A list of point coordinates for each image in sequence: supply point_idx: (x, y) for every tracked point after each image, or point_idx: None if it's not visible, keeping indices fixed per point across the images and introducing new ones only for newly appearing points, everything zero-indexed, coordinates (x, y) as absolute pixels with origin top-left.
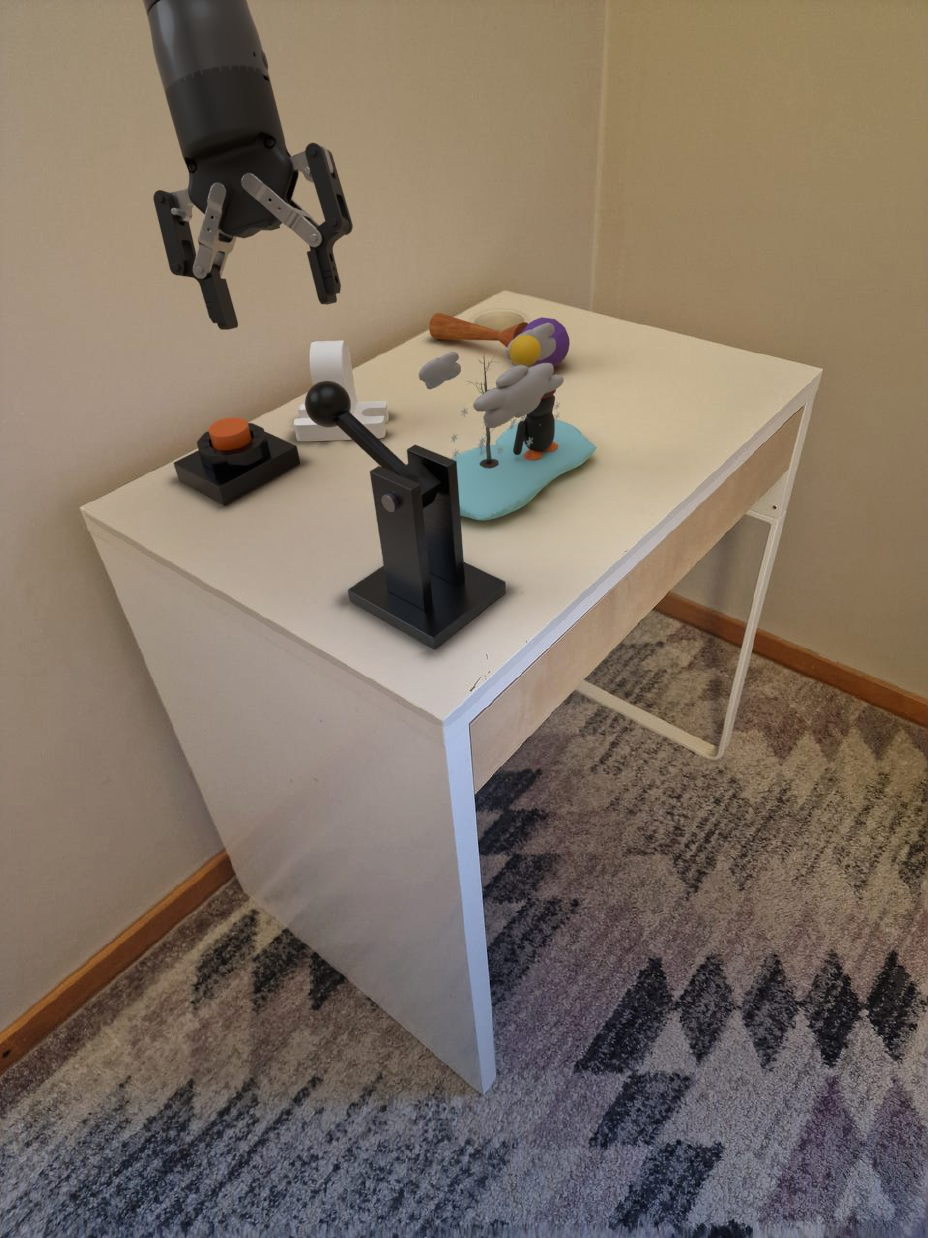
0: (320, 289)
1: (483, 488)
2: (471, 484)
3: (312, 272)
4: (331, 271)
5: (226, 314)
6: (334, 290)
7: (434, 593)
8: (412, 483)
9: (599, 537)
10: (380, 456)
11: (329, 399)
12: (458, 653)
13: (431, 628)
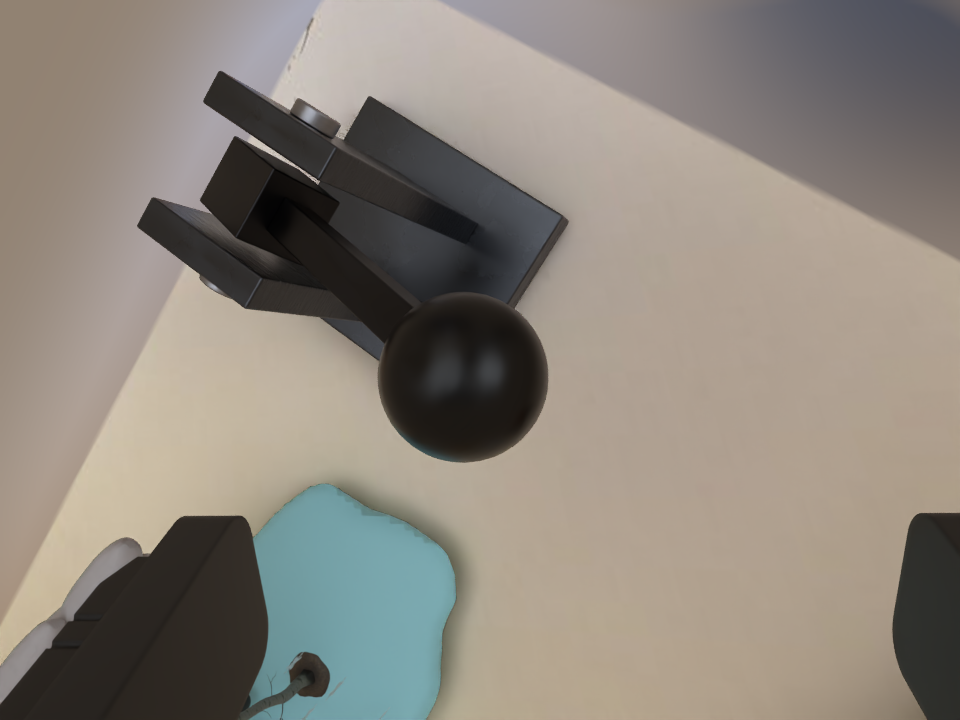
0: (183, 542)
1: (313, 569)
2: (339, 587)
3: (160, 626)
4: (55, 643)
5: (945, 595)
6: (129, 564)
7: (385, 225)
8: (219, 99)
9: (140, 461)
10: (320, 226)
11: (416, 313)
12: (341, 103)
13: (375, 121)
